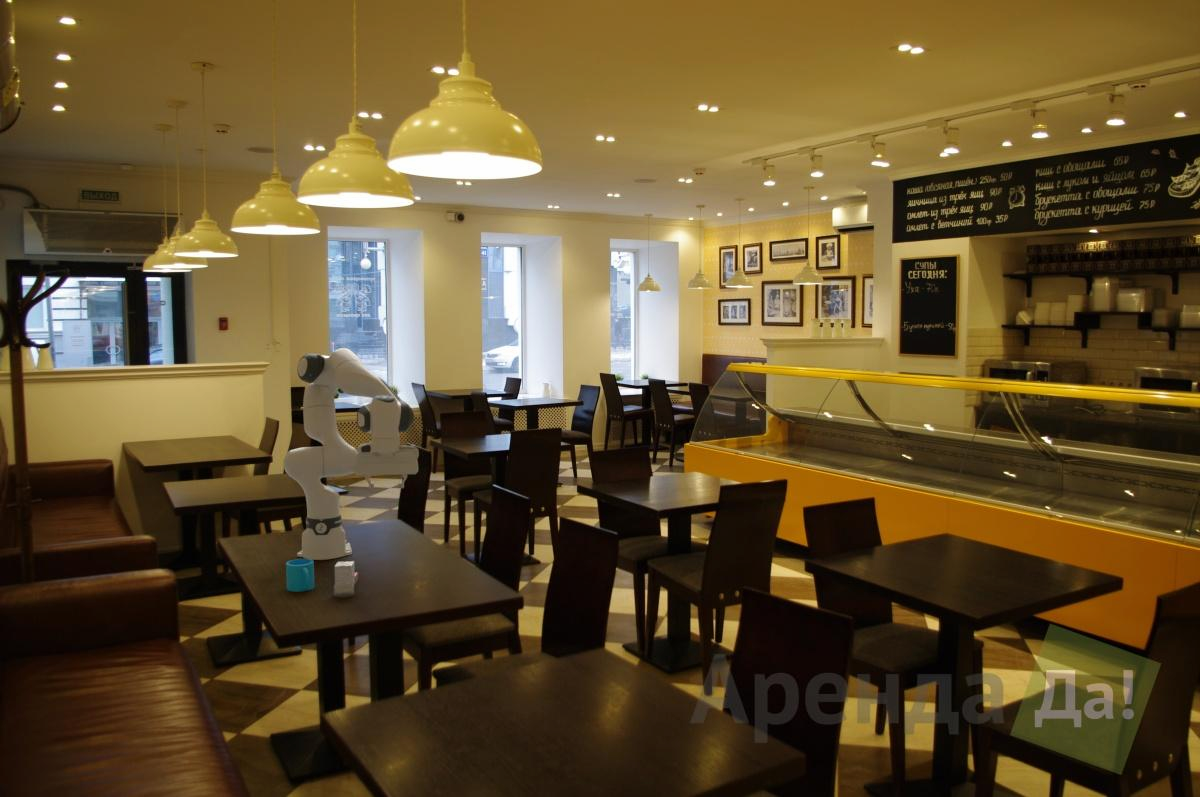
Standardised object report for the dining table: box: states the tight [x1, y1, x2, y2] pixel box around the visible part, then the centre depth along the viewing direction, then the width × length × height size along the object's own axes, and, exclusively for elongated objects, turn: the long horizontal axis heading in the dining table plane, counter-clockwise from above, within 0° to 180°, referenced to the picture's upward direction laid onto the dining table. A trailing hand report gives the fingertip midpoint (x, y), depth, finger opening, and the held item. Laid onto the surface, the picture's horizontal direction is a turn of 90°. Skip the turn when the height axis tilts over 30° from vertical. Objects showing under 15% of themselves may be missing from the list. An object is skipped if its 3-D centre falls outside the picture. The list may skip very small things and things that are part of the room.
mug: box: [285, 558, 315, 593], centre depth 277 cm, size 12×8×8 cm
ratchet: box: [333, 571, 359, 599], centre depth 278 cm, size 18×6×6 cm, turn 6°
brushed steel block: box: [334, 560, 356, 587], centre depth 272 cm, size 5×5×6 cm
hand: (386, 488), depth 289 cm, fingers open, 8 cm apart
